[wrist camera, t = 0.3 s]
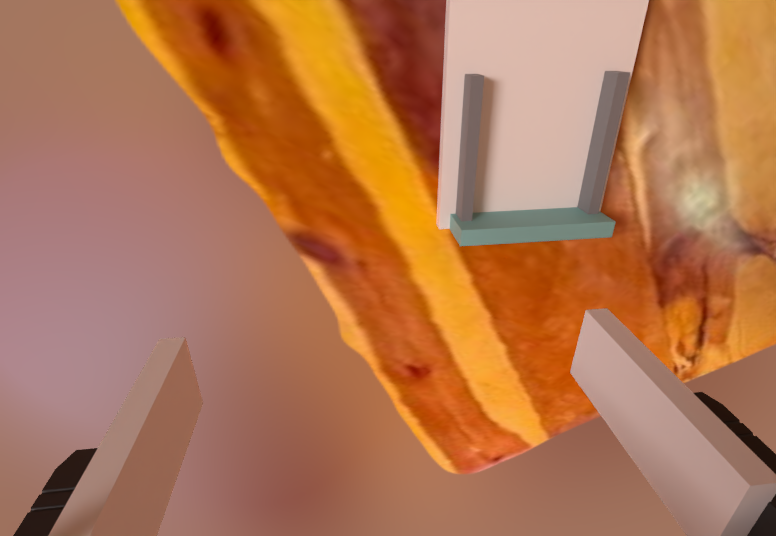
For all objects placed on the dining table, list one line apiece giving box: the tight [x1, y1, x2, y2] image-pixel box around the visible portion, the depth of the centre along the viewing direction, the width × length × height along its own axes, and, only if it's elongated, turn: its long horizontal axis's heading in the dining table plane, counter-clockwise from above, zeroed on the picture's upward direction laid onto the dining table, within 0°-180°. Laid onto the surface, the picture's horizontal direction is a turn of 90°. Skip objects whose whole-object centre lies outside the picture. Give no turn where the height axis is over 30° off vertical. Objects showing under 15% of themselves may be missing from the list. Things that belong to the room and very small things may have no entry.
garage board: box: [437, 0, 649, 246], centre depth 36 cm, size 23×16×5 cm
